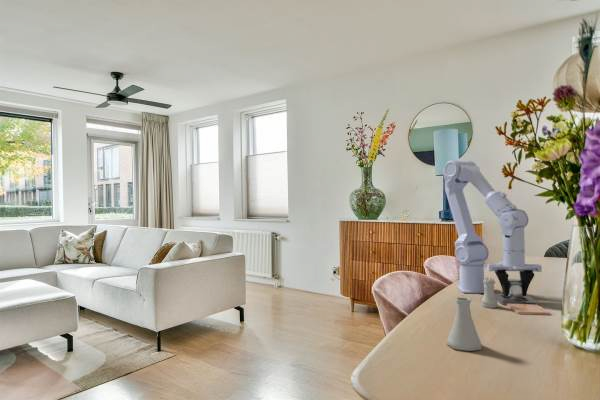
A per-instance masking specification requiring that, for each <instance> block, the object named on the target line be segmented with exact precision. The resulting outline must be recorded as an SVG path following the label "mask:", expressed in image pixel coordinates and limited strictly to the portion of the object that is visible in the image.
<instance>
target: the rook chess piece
mask: <svg viewBox="0 0 600 400" xmlns="http://www.w3.org/2000/svg"><path fill="white" fill-rule="evenodd" d="M483 282H484V289H485V291H484V293H483V296H482V299H481V300H480V301H481V303H480V304H481V307H484V308H488V309H496V308H498V306H499V304H498V301H497V300H496V298H495V295H494V294H495V288H496V287H495V286H494V285H495V284H496V281H495V280H494V277H493V278H492V277H484V280H483Z"/></svg>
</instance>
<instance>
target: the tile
mask: <svg viewBox="0 0 600 400" xmlns="http://www.w3.org/2000/svg"><path fill="white" fill-rule="evenodd" d="M506 306H507V307H508V308H509V309H510V310H512V311H513V312H514V313H515V314H517V315H541V316H551V312H550V311H548V310H547V309H545V308H544V307H542V306H541V305H540V306H539V305H537V304H507V305H506Z"/></svg>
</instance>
